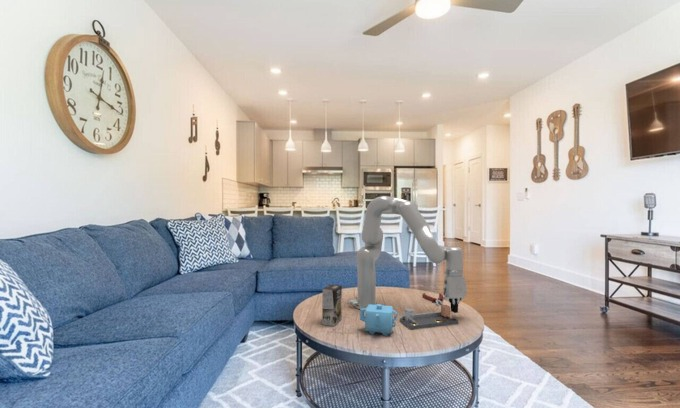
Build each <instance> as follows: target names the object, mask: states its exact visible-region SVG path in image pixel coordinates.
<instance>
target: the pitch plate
mask: <svg viewBox="0 0 680 408" xmlns="http://www.w3.org/2000/svg"><path fill="white" fill-rule="evenodd" d="M451 317H452V318H449V317H444V316H442V315H441V310H440V311H433V312H432V311H431V312H423V313H415V310H414V309H412V308H410V307H409V308H404V315H403V314H402V315H401V316H400V317H399V323H401V324H403V325H404V327H406V328H408V329H409V330H410V331H412V330H420V329H428V328H435V327H436V328H437V327H444V326H450V325H458V324H459V320H458V319H456V318H454V317H453V316H451Z"/></svg>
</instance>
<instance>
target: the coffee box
mask: <svg viewBox="0 0 680 408" xmlns="http://www.w3.org/2000/svg"><path fill="white" fill-rule="evenodd" d="M342 288H343V286H342V285H341V284H340V285H339V284H328V285H327V286H325V287H324V288H322V305H321V306H322V309H321V311H322V312H321V313H322V316H321V317H322V319H321V321H322V322H321V324H322V325H324V326H330V327H336V326H337V325H338V324H339V323H340V322H341V321H342V318H343V317H342V316H343V314H342V313H343V312H342V311H343V309H342V303H343V301H342V300H343V297H342V295H343V294H342V293H343V289H342Z"/></svg>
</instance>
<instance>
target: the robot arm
mask: <svg viewBox="0 0 680 408" xmlns="http://www.w3.org/2000/svg"><path fill="white" fill-rule="evenodd" d="M384 213H391V214H395V215H398V216H401V218H402V219H403V221H404V222H405V223H406V225H407V226H408V228H409V229H410V231H411V232H412V233H413V236H414V238H415V239H416V242H417V243H418V244H419V246H420V249H421V250H422V251H423V253H424V255H426V257H427V258H428V260H429V261H430V262H432V263H433V264H440V263H442V262H443V261H445V271H444V272H443V273H444V275H445V276H444V279H443V286H442V289H443V291H442V292H443V294H442V295H443V297H444V298H443V300H444V301H447V302H449V304H450V312H453V313H454V314H456V313H458V312H459V305H460V302H461V301H462V300H465V298H466V297H467V281H466V278H465V276H464V251H463V248H462V247H458V246H445V245H439V244H438V242H437V241H436V239H435V238H434V236H433V234H432V231H431V228H430V225H429V223H428V222H427V221H426V219H425V218H424V216H423V215H422V213H421V212H420V210H419V207H418V205H417V203H416V202H414V201H411V200H407V199H402V198H397V197H393V196H390V195H389V196H387V195H381V196H378V197H375V198H373V199H372V200H371V201H370V202H369V203H368V204H367V207H366V210H365V216H364V221H363V225H362V226H363V227H362V231H361V240H362V242H363V244H364V246H363V247H361V248H359V250H358V251H357V253H356V255H355V260H356V266H357V267H356V268H357V270H356V271H357V296H356V297H355V298H354V299H348V304H349V305H350V304H351V305H354V307H355V308H356V309H358V310H360V309H361V308H367V307H368V304H370V305H377V304H379V303H378V302H376V301H377V300H376V296H377V295H376V293H377V292H376V289H377V288H376V285H377V283H376V277H377V276H376V266H375V265H376V264H375V262H376V261H378V259H380V256H381V252H382V251H381V250H382V245H383V239H384V231H383V229H382V228H381V223H382V222H381V221H382V214H384Z"/></svg>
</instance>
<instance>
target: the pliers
mask: <svg viewBox="0 0 680 408" xmlns="http://www.w3.org/2000/svg"><path fill="white" fill-rule="evenodd" d="M422 297H423V299H424V300H426V301H429V302H431V303H432V304H434V303H435V305H436V306H437V307H439V306H441V305H444V304H443V300H444V295H443V294H442V293H439V294H438V298H436V297H433V296H430V295H427V294H426V293H422Z"/></svg>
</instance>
